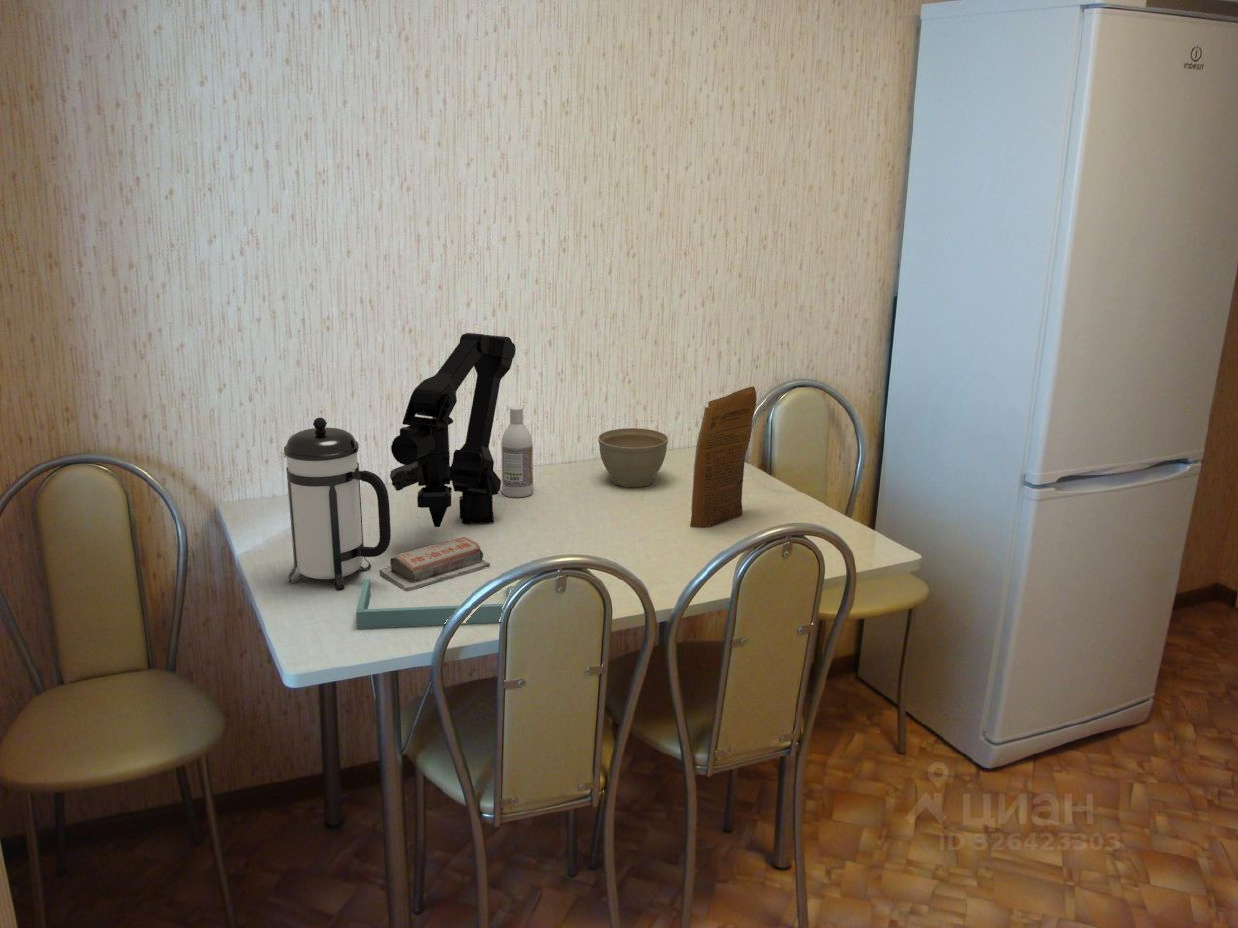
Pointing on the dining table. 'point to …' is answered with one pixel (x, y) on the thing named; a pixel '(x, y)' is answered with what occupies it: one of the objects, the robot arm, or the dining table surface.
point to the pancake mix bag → (722, 458)
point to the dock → (417, 613)
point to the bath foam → (517, 457)
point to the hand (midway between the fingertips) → (437, 526)
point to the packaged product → (434, 563)
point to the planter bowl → (632, 455)
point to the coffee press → (330, 504)
